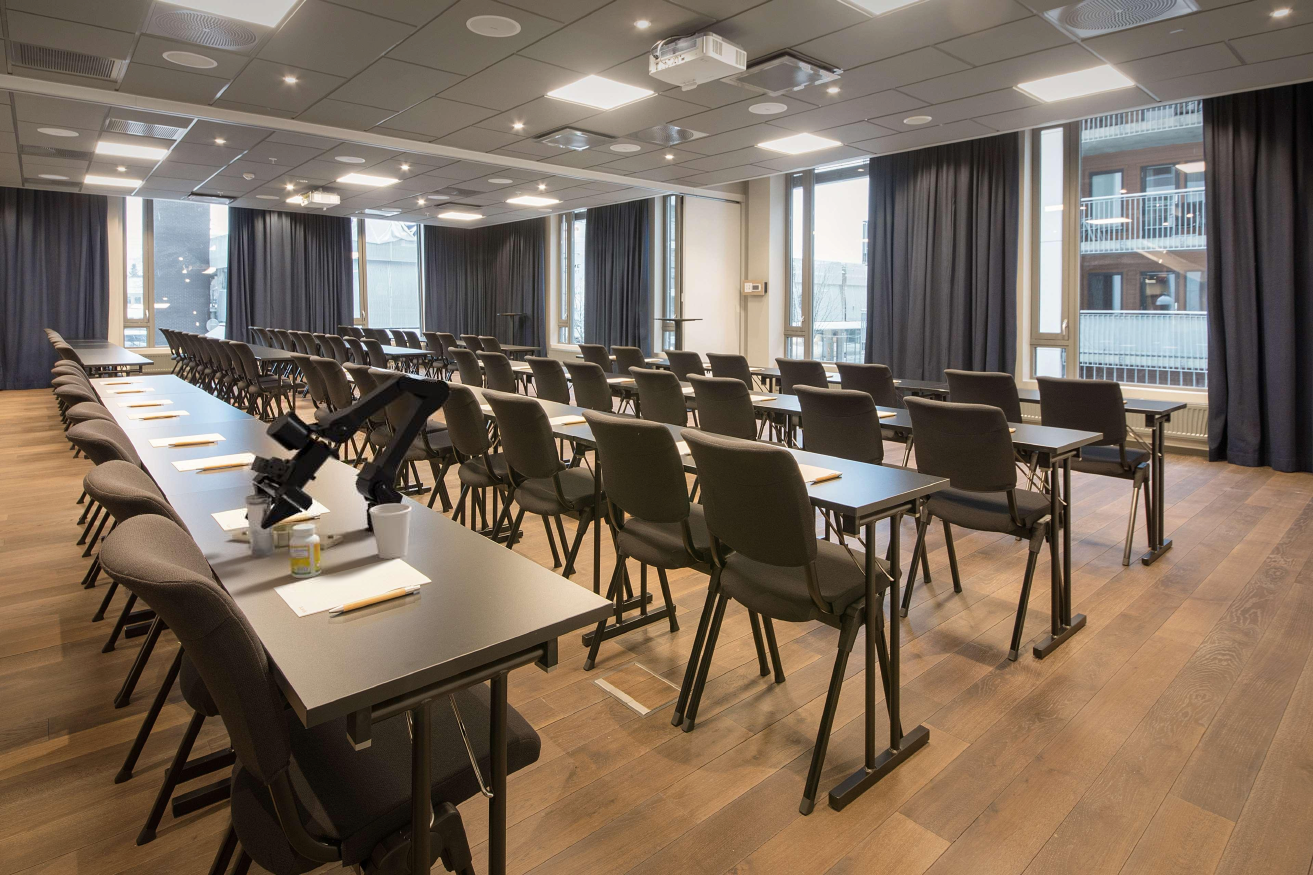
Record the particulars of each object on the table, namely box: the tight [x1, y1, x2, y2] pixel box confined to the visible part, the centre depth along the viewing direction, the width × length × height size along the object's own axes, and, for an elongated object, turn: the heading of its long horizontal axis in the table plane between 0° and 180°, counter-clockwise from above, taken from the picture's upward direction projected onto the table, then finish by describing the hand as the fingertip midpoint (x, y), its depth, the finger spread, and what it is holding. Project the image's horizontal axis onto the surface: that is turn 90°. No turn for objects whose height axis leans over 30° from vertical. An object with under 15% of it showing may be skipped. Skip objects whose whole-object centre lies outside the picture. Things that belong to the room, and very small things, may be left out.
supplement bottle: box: [289, 523, 322, 579], centre depth 149 cm, size 5×5×10 cm
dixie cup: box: [369, 503, 412, 560], centre depth 161 cm, size 8×8×10 cm
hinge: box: [232, 521, 344, 550], centre depth 171 cm, size 24×8×3 cm, turn 75°
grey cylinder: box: [244, 493, 276, 559], centre depth 160 cm, size 5×5×12 cm
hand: (254, 523), depth 159 cm, fingers open, 9 cm apart
